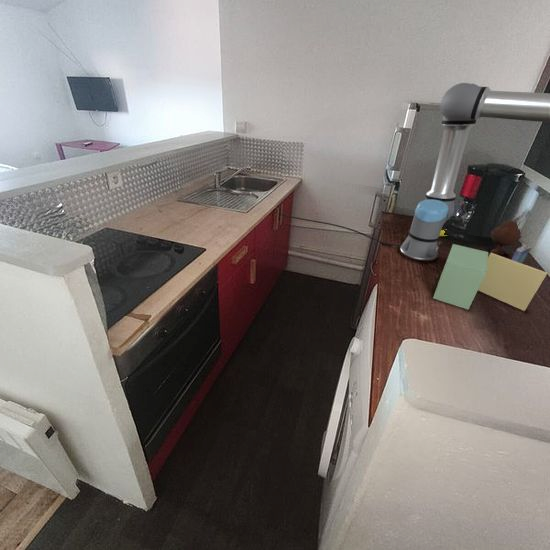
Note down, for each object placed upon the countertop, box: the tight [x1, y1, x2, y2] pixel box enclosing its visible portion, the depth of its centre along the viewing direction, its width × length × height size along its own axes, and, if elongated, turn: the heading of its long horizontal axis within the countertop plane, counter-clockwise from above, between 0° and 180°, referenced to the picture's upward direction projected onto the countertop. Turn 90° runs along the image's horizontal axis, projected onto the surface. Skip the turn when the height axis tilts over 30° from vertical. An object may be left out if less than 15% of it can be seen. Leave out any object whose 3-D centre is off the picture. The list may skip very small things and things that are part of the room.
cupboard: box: [432, 243, 489, 311], centre depth 102 cm, size 11×16×15 cm
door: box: [477, 252, 548, 312], centre depth 101 cm, size 6×16×15 cm, turn 36°
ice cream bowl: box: [489, 220, 522, 256], centre depth 131 cm, size 11×11×15 cm
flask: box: [510, 242, 532, 264], centre depth 121 cm, size 9×3×11 cm, turn 121°
